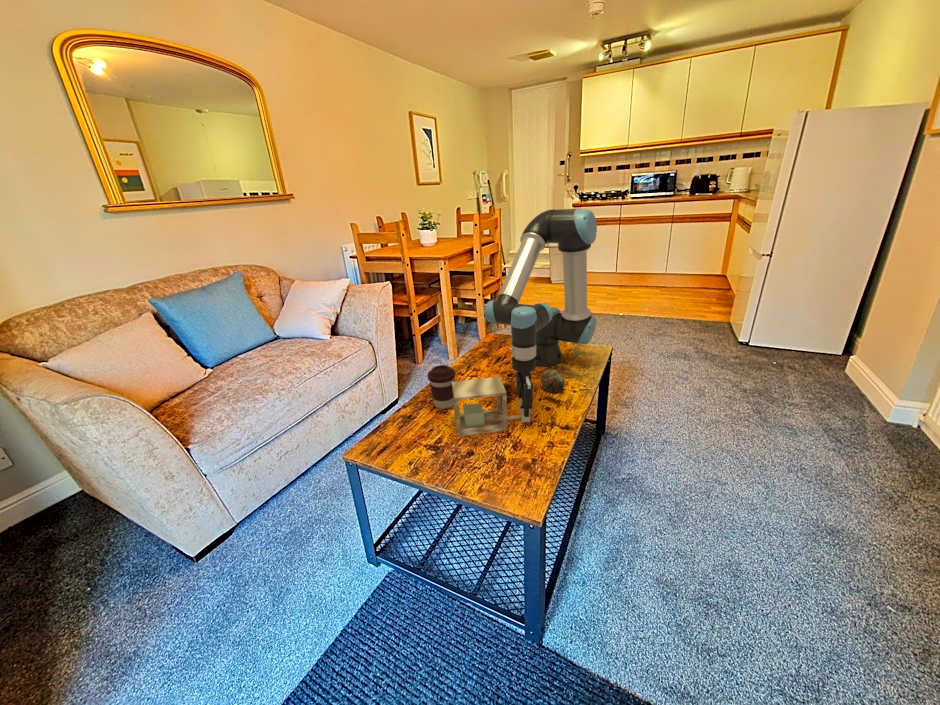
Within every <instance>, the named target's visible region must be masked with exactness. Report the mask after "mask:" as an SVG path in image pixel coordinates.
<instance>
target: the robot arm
mask: <svg viewBox="0 0 940 705" xmlns="http://www.w3.org/2000/svg"><path fill="white" fill-rule="evenodd" d="M596 219H597V218H596V216H595V214H594V212H593V211H592V209H591V210H590V209H587V208H566V209H565V208H564V209H561V208H560V209H547V210H545V211H542V212H541V213H539V214H538V215H536V216H535V217H534V218H532V220H531V221H529V222H528V224H527V225H526V227H525V228H524V230H523V231H522V234H521V236H520V239H519V241H520V245H519V248H518V250H517V252H516V255H515V256H514V258H513V260H512V263H511V266H510V268H509V270H508V272H507V274H506V277H505V280H504V282H503V283H502V284H503V285H502V286H501V289H500V290H499V293H498V295H497V297H496V299H495V300H494V299H493V300H489V301H487V303H486V304H485V306H484V311H483V312H484V313H483V314H484V318H485V320H486V321H487V322H489V323H493V324H497V325H506V326H510V327H511V328H510V329H511V333H510V334H511V347H510V348H509V351H511V368H512V369H513V370H514V371H515V376H516V378H515V379H516V380H515V381H516V395H517V399H518V400H519V398H522V406H520V408H521V413H522V421H521V423H522V424H523V423H530V422H531V409H533V390H534V382H532V374H531V372H533V371H535V369H536V367H537V366H538V367H552V366H557V365H559V364H560V363H562V361H563V353H562V350H561V347H560V346H561V345H560V342H567V343H574V344H577V345H588V344H589V343H590V342H591V340H592V338H593V337H594V333H595V331H596V327H597V317H595V316H592V311H591V309H590V308H588V267H587V266H588V260H587V259H588V258H587V257H588V256H587V252H588V251H589V250H590V248H591V247H592V245H593V244H594V243H595V241H596V239H597V232H598V228H597V227H598V225H597V220H596ZM548 244H557V249H558V251H559V252H560V253H561V254H562V267H563V268H562V270H563V271H562V273H563V287H564V288H563V289H564V292H563V294H564V309H563V310H562V311H561V310H560V308H557V307H554V306H553V307H551V306H550V305H549V304H547V303H545V302H539V303H535V304H527V303H526V304H524V303H519V302H520V301H521V298H522V296H523V293H524V291H525V289H526V286H527V285H528V281H529V279H530V277H531V274H532V271H533V269H534V267H535V265H536V262H537V260H538V257H539V255H540V252H541V251H543V250H545V247H546V246H547V245H548Z"/></svg>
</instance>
